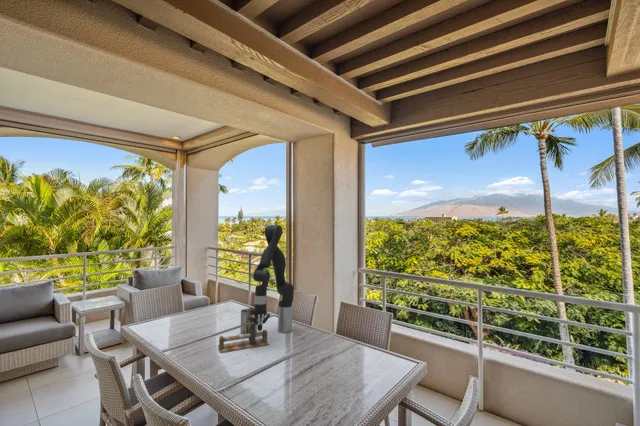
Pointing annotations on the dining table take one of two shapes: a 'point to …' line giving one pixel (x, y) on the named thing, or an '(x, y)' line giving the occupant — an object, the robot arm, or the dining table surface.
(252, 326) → the collar
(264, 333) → the rail
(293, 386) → the dining table surface
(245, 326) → the coffee box
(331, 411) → the dining table surface
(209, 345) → the dining table surface
